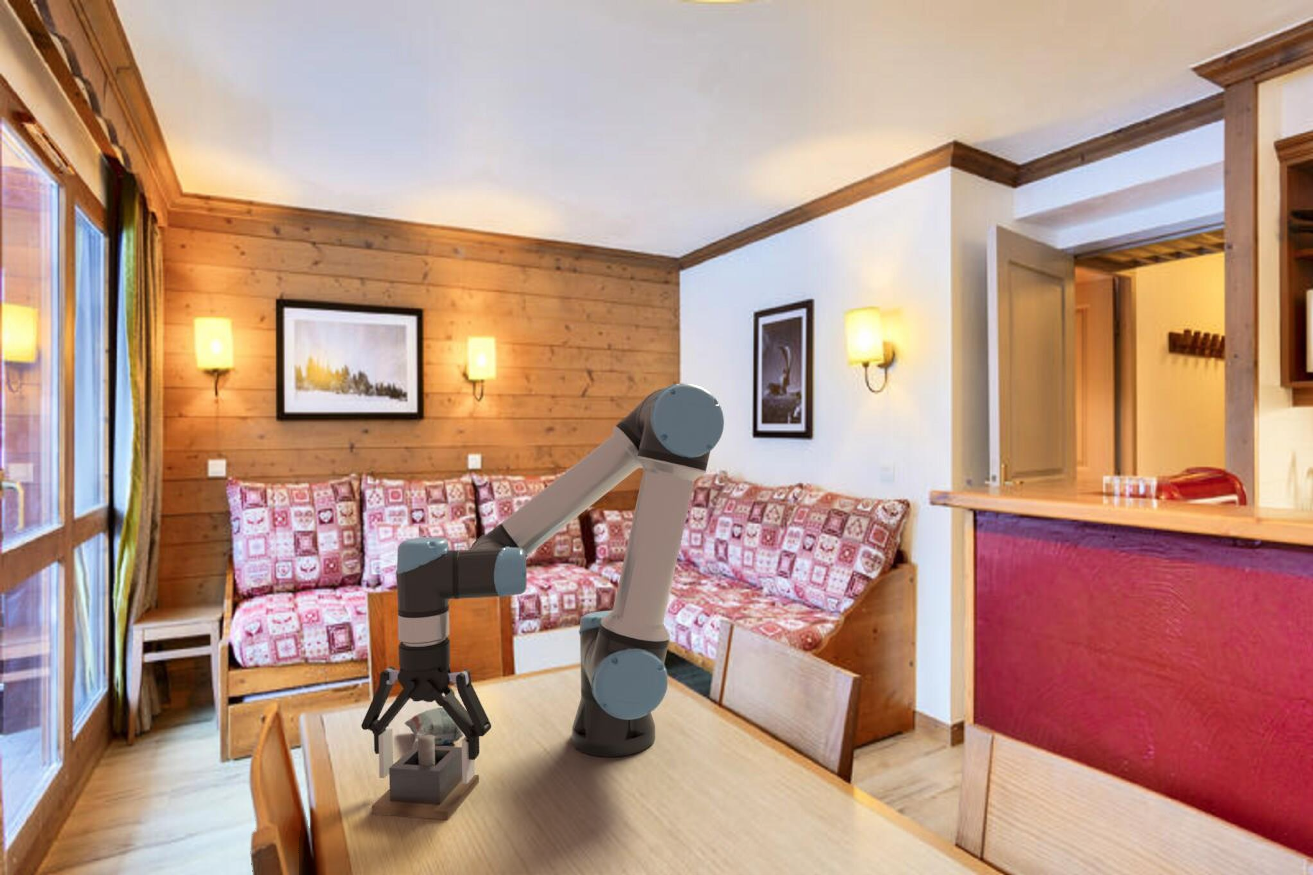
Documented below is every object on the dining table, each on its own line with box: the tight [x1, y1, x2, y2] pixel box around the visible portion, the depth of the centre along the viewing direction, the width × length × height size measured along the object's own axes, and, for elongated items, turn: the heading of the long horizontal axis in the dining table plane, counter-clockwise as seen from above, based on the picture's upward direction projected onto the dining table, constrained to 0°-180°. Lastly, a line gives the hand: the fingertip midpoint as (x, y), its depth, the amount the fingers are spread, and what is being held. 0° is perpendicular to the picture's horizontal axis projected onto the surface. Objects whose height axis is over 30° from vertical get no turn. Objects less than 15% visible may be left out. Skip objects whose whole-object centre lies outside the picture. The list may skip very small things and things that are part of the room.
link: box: [388, 745, 462, 805], centre depth 109 cm, size 8×8×5 cm
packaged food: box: [404, 707, 464, 747], centre depth 130 cm, size 9×12×5 cm
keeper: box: [371, 735, 480, 820], centre depth 109 cm, size 12×11×9 cm
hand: (427, 776), depth 109 cm, fingers open, 13 cm apart
